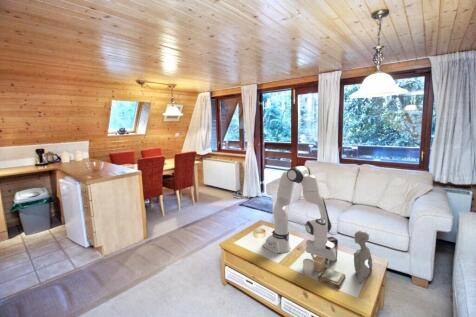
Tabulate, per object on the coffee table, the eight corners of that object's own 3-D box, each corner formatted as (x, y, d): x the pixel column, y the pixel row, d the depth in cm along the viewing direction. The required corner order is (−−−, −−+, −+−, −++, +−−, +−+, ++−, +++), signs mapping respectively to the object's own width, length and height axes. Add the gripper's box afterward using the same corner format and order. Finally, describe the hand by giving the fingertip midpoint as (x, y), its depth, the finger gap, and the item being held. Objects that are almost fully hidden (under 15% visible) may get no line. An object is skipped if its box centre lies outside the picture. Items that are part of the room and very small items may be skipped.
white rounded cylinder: (301, 273, 163) (301, 262, 162) (305, 268, 169) (305, 257, 167) (311, 276, 159) (311, 265, 158) (315, 271, 164) (315, 260, 163)
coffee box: (326, 262, 174) (327, 241, 172) (321, 258, 180) (321, 237, 178) (337, 260, 176) (338, 239, 174) (331, 256, 183) (332, 235, 180)
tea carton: (313, 269, 167) (313, 258, 166) (317, 264, 172) (317, 254, 171) (320, 272, 164) (321, 261, 163) (324, 267, 169) (324, 256, 168)
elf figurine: (358, 263, 172) (361, 223, 168) (373, 268, 165) (376, 227, 161) (346, 278, 157) (348, 234, 152) (362, 285, 150) (364, 239, 145)
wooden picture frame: (318, 280, 155) (318, 276, 154) (325, 270, 165) (325, 266, 164) (339, 288, 147) (339, 284, 146) (345, 278, 157) (345, 273, 156)
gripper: (304, 240, 169) (304, 259, 171) (334, 249, 157) (334, 268, 159) (307, 237, 174) (307, 255, 176) (337, 245, 162) (336, 264, 164)
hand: (320, 261), depth 168 cm, fingers open, 8 cm apart
